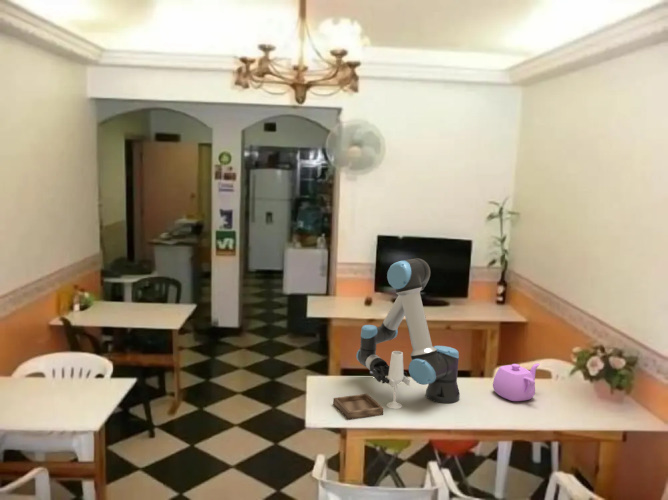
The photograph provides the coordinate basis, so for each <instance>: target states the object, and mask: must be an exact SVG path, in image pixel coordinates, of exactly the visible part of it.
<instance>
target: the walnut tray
mask: <svg viewBox="0 0 668 500" xmlns="http://www.w3.org/2000/svg"><path fill="white" fill-rule="evenodd" d="M332 401H333V404H332V405H333V406H334V407H335V408H336V409H337V410H338V411H339V412H340V413H341V414H342V415H343V416H344V417H345V418H346V419H347V421H350V420H358V419H365V418H372V417H376V416H377V417H378V416H383V415H384V407H383V406H382V405H381V404H380V403H378V402H377V401H376V400H375V399H374V398H373V397H371V396H370V395H369V394H368V393H361V394H354V395H347V396H338V397H333V400H332Z"/></svg>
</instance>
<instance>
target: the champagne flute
mask: <svg viewBox="0 0 668 500" xmlns="http://www.w3.org/2000/svg"><path fill="white" fill-rule="evenodd" d="M389 366H390V367H389V374H388V375H387V376H388V377H390V378H391V379H392V380H394V381H395V385H394V388H393V395H392V396H393V398H392V401H390V402H388V403H387V404H386V407H387V408H389V409H396V410H397V409H401V408H402V404H401V403H399V402H397V387H398V385H400V384H401V383H402V380H403V378H404V372H403V371H404V352H403V351H401V350H394V351H391V355H390V363H389Z"/></svg>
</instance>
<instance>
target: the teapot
mask: <svg viewBox="0 0 668 500" xmlns="http://www.w3.org/2000/svg"><path fill="white" fill-rule="evenodd" d="M539 366H540V363H535V364H533V365H532V367H531V368H530V370H528V369H527V368H526V367H524V366H521V365H520V364H518V363H512V364H507V365H502V366H499V368H498V370H497V372H496V373H495V374H494V378H493V382H492V388H493V390H494V393H496V394H497V395H498V396H500V397H502V398H503V399H506V400H509V401H510V402H522V401H528V400H531V399H533V397H535V394H536V381H535V380H536V371H537V368H538V367H539Z"/></svg>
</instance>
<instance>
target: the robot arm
mask: <svg viewBox="0 0 668 500" xmlns="http://www.w3.org/2000/svg"><path fill="white" fill-rule="evenodd" d="M386 275H387V276H386V278H387V281H388V284H389V285H390V286H391V287H392V288H393V289H394V291H395V294H396V295H398V296H397V297H396V298H395V301H394V303H393V304H392V306H391V308H390V309H389V311H388V313H387V314H386V316H385V318H384V319H383V321H382V323H381V324H380V326H378V327H377V326H376V325H372V324H365V325H362V327H361V328H360V329H361V331H360V348H358V350H357V352H356V356H355V357H356V360H357V361H358V363H360V364H361V365H362V366H363V367H365V368H366V369H368V370H369V375H370V376H372V377H373V378H374V379H375V380H376V381H377V382H378V383H382V384H387V385H388V386H390V387H391V388H393V389H394V385H395V381H394V380H392V379H391V378H390V377H388V374H389V367H390V365H389V364H388V363H387V361H385V360H384V359H383V358H381V357H380V356H379V355H377V345H378V344H382V343H384V342H387V341H391V340H393V339H395V338H397V336H398V331H399V329H398V328H399V326H400V325H401V323H402V321H403V320H404V318H405V322H406V326H407V330H408V334H409V339H410V343H411V347H412V352H411V353H410V358H411V361H410V362H409V364H408V373H409V375H410V377H411V379H412V380H413V381H414V382H416V383H417V384H418V385H424V386H425V385H427V387H426V389H425V390H426V391H425V396H426V398H427V399H429V400H431V401H432V402H436V403H441V404H453V403H457V402H458V401H459V400H460V396H461V395H460V389H459V385H458V381H457V380H458V371H459V370H458V369H459V359H460V357H459V356H460V355H459V353H460V352H459V351H458V350H457V349H456V348H453V347H451V346H445V345H434V346H433V344H432V343H433V342H432V340H431V335H430V330H429V327H428V321H427V319H426V313H425V308H424V305H423V301H422V296H421V291H423V290H424V289H425V287H426V286H427V284H428V282H429V280H430V277H431V268H430V266H429V264H428V262H426V261H425V260H424V259H421V258H418V257H417V258H411V259H410V258H409V259H404V260H400V261H397V262H394V263H393V264H391V265H390V267H389V268H388V270H387V273H386ZM403 372H404V378H403V380H402V381H401V383H402V382H403V384H405V385H406V386H410V384H411V379H410V378H408V373H407V372H406V371H404V370H403Z"/></svg>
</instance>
